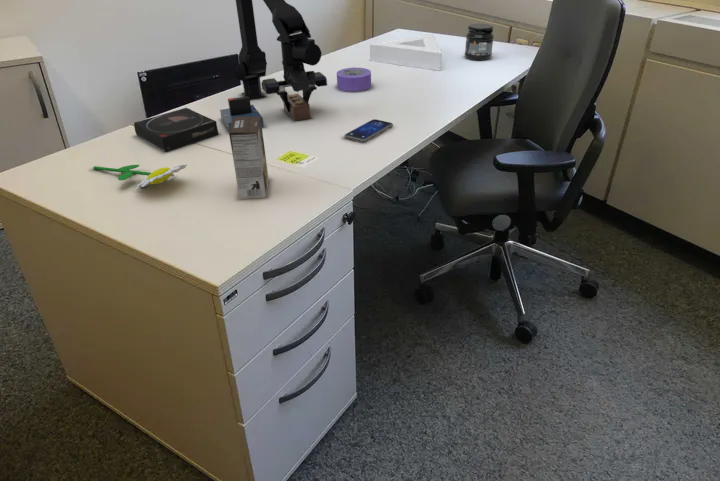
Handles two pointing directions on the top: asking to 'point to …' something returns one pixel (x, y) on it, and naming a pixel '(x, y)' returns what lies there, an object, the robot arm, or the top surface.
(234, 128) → the coffee box
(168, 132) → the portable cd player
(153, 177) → the decorative flower
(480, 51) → the supplement container
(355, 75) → the tape roll
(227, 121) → the dial panel
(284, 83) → the robot arm
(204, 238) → the top surface
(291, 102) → the token holder
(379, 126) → the smartphone
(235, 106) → the black block red tip
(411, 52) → the triangle block
